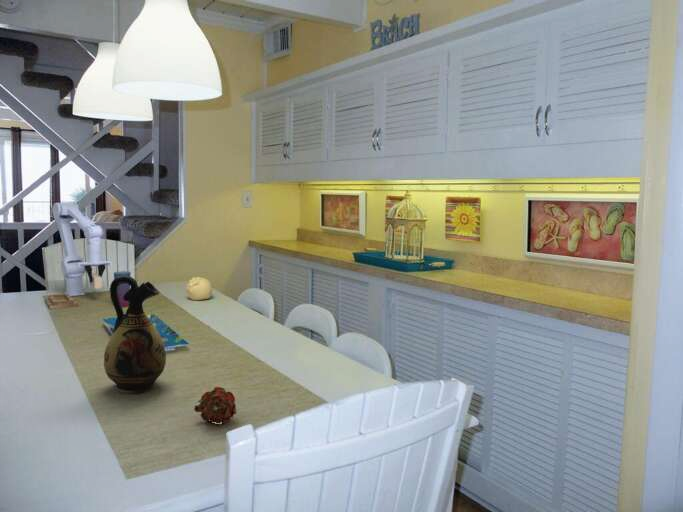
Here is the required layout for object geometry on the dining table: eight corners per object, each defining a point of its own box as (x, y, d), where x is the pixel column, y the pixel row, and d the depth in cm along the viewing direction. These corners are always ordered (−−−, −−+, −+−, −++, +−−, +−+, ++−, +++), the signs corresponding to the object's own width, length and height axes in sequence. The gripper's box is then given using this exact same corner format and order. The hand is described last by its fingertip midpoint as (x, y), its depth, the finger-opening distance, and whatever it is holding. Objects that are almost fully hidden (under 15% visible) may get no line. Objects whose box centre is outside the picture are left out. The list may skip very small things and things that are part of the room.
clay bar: (89, 284, 253) (89, 273, 253) (96, 283, 255) (96, 273, 255) (94, 288, 244) (94, 277, 243) (101, 288, 245) (101, 277, 245)
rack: (45, 300, 245) (44, 295, 245) (72, 298, 252) (71, 293, 251) (50, 308, 231) (49, 303, 230) (78, 306, 237) (78, 300, 236)
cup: (114, 305, 241) (113, 271, 239) (130, 304, 244) (130, 270, 242) (115, 308, 235) (114, 273, 233) (132, 307, 237) (131, 273, 236)
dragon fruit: (223, 440, 120) (206, 426, 130) (251, 411, 124) (233, 400, 134) (199, 413, 117) (184, 402, 128) (228, 384, 121) (211, 375, 131)
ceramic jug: (173, 377, 153) (171, 272, 149) (156, 398, 138) (154, 282, 134) (112, 376, 153) (108, 271, 149) (88, 398, 137) (84, 280, 134)
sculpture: (185, 297, 261) (185, 275, 260) (211, 296, 265) (211, 274, 263) (186, 302, 250) (186, 279, 249) (213, 301, 254) (213, 278, 252)
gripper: (78, 254, 240) (79, 284, 242) (113, 252, 248) (114, 281, 250) (75, 252, 246) (76, 281, 248) (109, 250, 254) (110, 279, 256)
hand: (95, 281), depth 249 cm, fingers closed on clay bar, 3 cm apart
